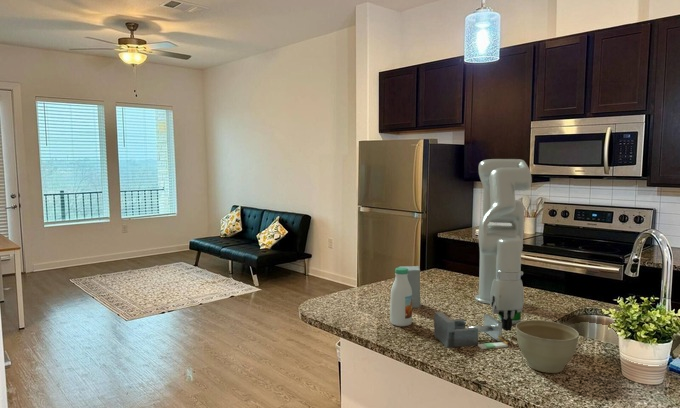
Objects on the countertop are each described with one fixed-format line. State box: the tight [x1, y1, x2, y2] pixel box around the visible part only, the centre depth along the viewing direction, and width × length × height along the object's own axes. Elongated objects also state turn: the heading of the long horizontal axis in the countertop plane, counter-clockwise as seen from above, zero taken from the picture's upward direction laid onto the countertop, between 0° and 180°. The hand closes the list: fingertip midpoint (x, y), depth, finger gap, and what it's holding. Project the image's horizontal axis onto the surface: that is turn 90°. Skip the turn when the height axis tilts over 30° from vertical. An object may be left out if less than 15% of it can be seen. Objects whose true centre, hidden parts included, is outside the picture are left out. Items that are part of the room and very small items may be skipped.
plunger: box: [467, 313, 509, 345], centre depth 149 cm, size 9×13×6 cm
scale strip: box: [477, 341, 509, 350], centre depth 144 cm, size 9×2×1 cm, turn 102°
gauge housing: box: [433, 311, 479, 348], centre depth 148 cm, size 10×10×8 cm
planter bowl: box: [515, 319, 580, 374], centre depth 129 cm, size 16×16×11 cm
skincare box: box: [398, 265, 421, 309], centre depth 184 cm, size 8×7×16 cm
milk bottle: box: [389, 266, 413, 327], centre depth 164 cm, size 8×8×20 cm
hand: (506, 329), depth 152 cm, fingers closed
